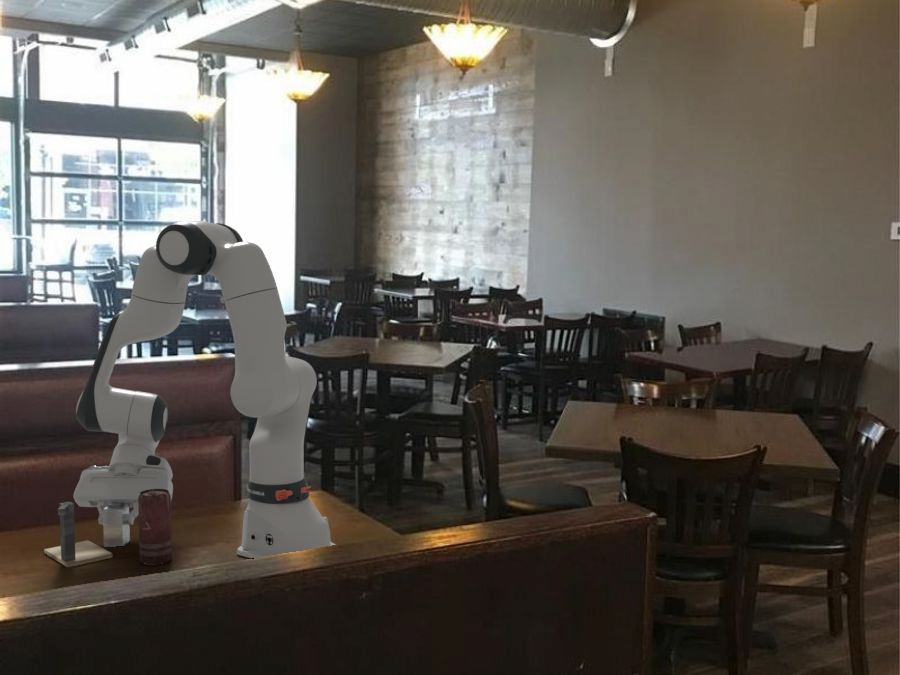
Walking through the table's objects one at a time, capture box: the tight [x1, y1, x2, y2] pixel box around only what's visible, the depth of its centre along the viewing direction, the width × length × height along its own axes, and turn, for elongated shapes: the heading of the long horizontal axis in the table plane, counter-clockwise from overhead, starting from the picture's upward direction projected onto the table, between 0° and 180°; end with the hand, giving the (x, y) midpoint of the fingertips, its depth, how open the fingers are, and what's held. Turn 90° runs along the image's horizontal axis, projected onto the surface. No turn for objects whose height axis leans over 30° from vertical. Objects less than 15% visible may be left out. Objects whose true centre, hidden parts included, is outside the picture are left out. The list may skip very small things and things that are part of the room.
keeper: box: [43, 501, 114, 568], centre depth 191 cm, size 13×11×12 cm
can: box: [138, 489, 173, 565], centre depth 189 cm, size 6×6×14 cm
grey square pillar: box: [102, 502, 131, 548], centre depth 200 cm, size 4×4×9 cm
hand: (115, 523), depth 199 cm, fingers closed on grey square pillar, 4 cm apart
